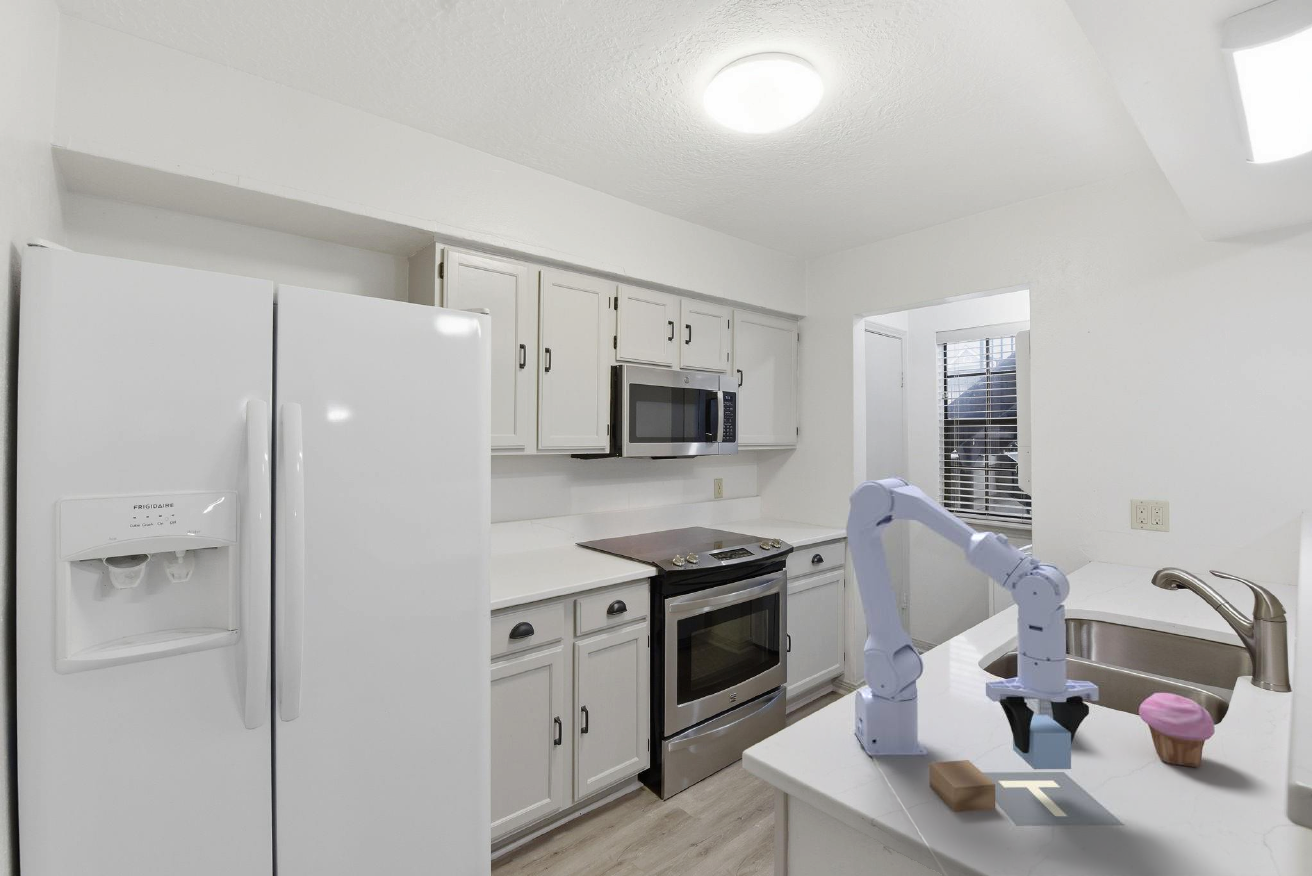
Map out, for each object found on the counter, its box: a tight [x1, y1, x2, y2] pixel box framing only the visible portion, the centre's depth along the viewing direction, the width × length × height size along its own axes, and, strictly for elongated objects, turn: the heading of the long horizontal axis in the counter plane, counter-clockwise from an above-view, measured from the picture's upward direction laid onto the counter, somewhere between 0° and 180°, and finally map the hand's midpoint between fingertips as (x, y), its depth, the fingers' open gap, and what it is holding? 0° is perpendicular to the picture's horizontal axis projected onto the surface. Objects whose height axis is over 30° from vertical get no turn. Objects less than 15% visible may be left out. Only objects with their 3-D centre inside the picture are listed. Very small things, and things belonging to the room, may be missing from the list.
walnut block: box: [928, 759, 996, 813], centre depth 85 cm, size 6×6×4 cm
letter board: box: [981, 771, 1125, 827], centre depth 84 cm, size 14×12×1 cm
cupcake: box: [1138, 692, 1215, 768], centre depth 94 cm, size 9×9×10 cm
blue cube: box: [1012, 715, 1072, 770], centre depth 84 cm, size 5×5×5 cm
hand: (1041, 749), depth 84 cm, fingers closed on blue cube, 5 cm apart
